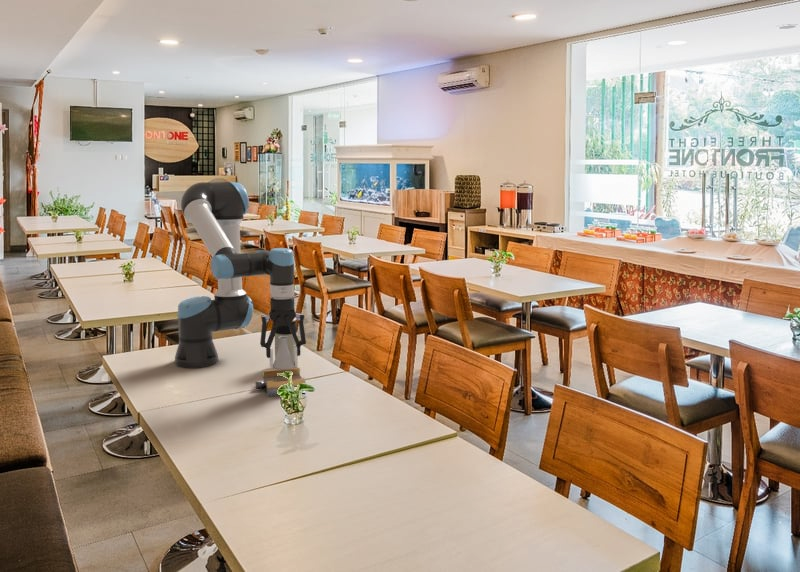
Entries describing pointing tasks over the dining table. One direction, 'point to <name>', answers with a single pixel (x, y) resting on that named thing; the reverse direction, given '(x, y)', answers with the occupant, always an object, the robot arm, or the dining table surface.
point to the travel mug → (290, 341)
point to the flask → (283, 355)
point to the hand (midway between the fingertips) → (283, 366)
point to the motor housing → (277, 380)
